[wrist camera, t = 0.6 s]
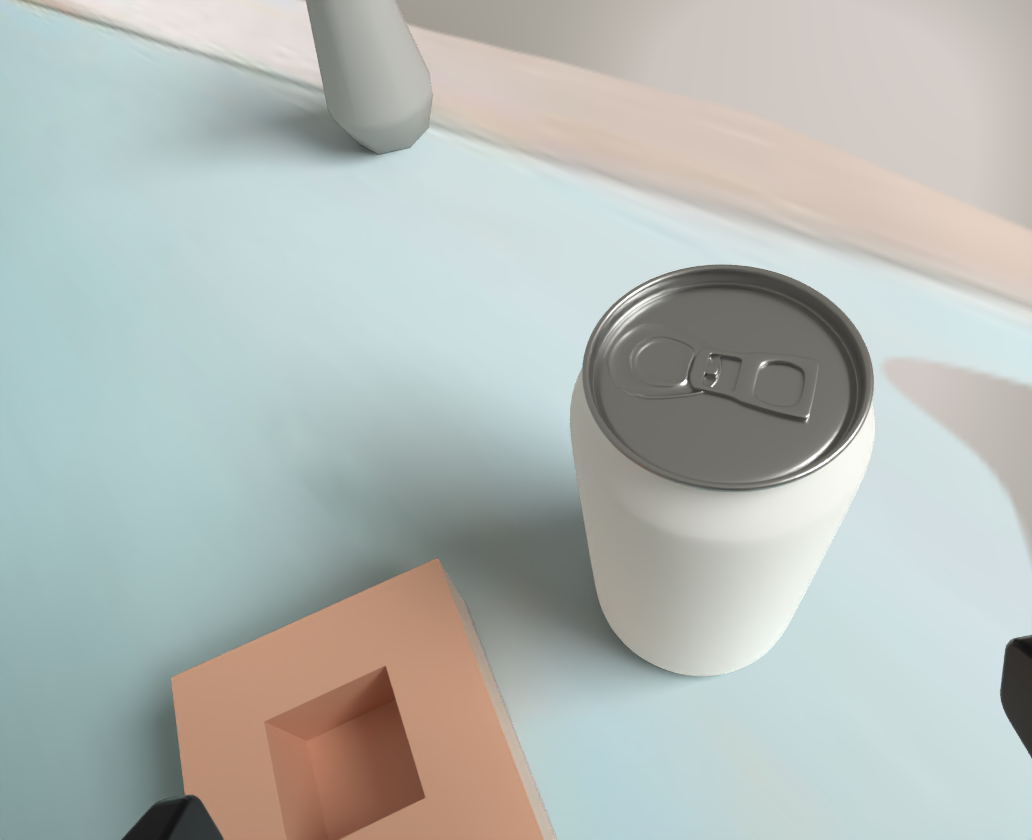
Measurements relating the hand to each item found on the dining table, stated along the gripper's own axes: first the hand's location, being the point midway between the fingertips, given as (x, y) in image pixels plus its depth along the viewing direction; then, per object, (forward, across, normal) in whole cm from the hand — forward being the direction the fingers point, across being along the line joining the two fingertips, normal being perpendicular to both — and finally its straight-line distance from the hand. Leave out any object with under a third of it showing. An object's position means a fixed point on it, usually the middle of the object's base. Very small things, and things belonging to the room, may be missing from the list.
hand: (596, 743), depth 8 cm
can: (+14, -4, +10) cm, 17 cm away
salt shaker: (+39, +5, -5) cm, 40 cm away
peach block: (+10, +7, +12) cm, 17 cm away
